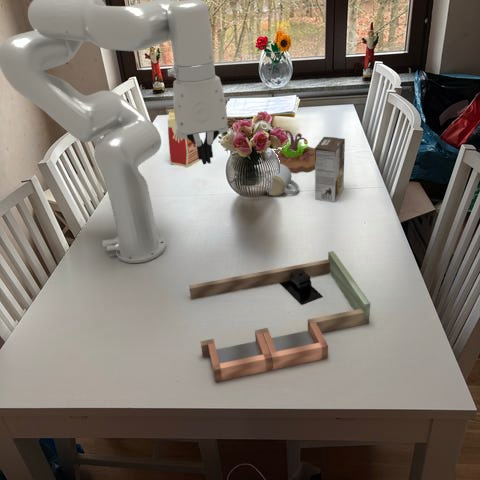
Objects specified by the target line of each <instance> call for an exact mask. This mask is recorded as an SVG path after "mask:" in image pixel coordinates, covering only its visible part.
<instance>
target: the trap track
mask: <svg viewBox="0 0 480 480" xmlns="http://www.w3.org/2000/svg"><path fill="white" fill-rule="evenodd" d="M327 257H328V258H327V259H323V260H317V261H313V262H306V263H302V264H296V265H292V266H291V265H290V266H286V267H280V268H274V269H269V270H266V271H265V270H264V271H260V272H253V273H247V274H244V275H238V276H233V277H226V278H222V279H216V280H210V281H206V282H205V281H204V282H200V283H199V282H198V283H195V284H194V283H193V284H191V285H188V288H189V289H188V290H189V294H190V300H192V301H193V300H196V299H200V298H201V299H202V298H206V297H211V296H216V295H223V294H227V293H231V292H232V293H233V292H238V291H243V290H247V289H248V290H249V289H254V288H259V287H263V286H269V285H275V284H280V282H285V281H290V273H291V272H294V271H297V270H300V269H302V270H303V271H305V274H308V275H309V276H310V277H317V276H322V275H326V274H330V275H331V277H332V278H333V280H334V282H335V283H336V285H337V286H338V287H339V290H340V291H341V292H342V295H344V297H345V298H346V300H347V302H348V303H349V304H350V306H351V308H352V310H349V311H343V312H338V313H333V314H329V315H324V316H319V317H315V318H314V317H312V318H310V319H309V318H308V319H307V330H304V331H299V332H295V333H288V334H285V335H280V336H275V337H272V335H271V333H270V331H269V328H268V327H264V328H260V329H254V336H255V341H251V342H247V343H246V342H245V343H241V344H236V345H231V346H227V347H226V346H225V347H222V348H221V347H220V348H216V344H215V339H214V338H210V339H205V340H201V341H199V342H200V347H201V349H200V350H201V355H202V358H208V357H209V358H210V363H211V366H212V367H211V368H212V371H213V376H214V377H213V378H214V381H215V383H218V382H221V381H227V380H231V379H237V378H241V377H246V376H250V375H255V374H259V373H263V372H269V371H273V370H278V369H282V368H283V369H284V368H287V367H292V366H296V365H301V364H305V363H311V362H315V361H319V360H324V359H328V358H329V345H328V343H327V341H326V339H325V337H324V336H323V333H328V332H333V331H336V330H343V329H347V328H351V327H357V326H361V325H365V324H366V325H367V324H369V323H370V315H371V314H370V313H371V312H370V311H371V302H370V300H369V299H368V297H367V296H366V295H365V294H364V292H363V291H362V289H361V288H360V286H359V285H358V284H357V282H356V281H355V279H354V278H353V276H352V275H351V274H350V272H349V270H348V269H347V268H346V267H345V264H343V263H342V261H341V259H340V258H339V256H338V255H337V253H336V252H335V251H334V250H332V251H328V253H327ZM303 275H304V274H303Z"/></svg>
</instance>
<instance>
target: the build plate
mask: <svg viewBox="0 0 480 480" xmlns="http://www.w3.org/2000/svg"><path fill="white" fill-rule="evenodd" d="M303 274H304V275H303ZM279 285H281V286H282V287H283V288H284V289H285V291H286V292H287V293H288V294H289V295H290V296H292V298H294V300H296V302H298V304H300V305H301V306H303V305H307V304H309V303H311V302H315V301H317V300H319V299H322V298H323V297H324V296H323V295H322V294H321V293H320V292H319V291H318V290H317V289H316V288H315V287H314V286H313V285H312V281H311V277H310V276H309V275H308V274H305V271H303V270H302V269H300V270H297V271H294V272H291V273H290V281H285V282H280V283H279Z"/></svg>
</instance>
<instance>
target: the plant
mask: <svg viewBox="0 0 480 480" xmlns="http://www.w3.org/2000/svg"><path fill="white" fill-rule="evenodd" d="M284 131H285V132H286V135H288V133H289V136H290V141H287V142H288V144H287V143H286V146H285V147H283V148H282V149H278V150H274V151H275V153H276V154H277V155H278V158H279V160H280V164H283V165H285V166H286V167H287V168H288V169H289V170H290V172H291V174H299V173H311V172H313V171H315V147H310V146H309V145H308V143H309V142H308V140H307V138H305V137H303V135H302V133H301V132H298V133H297V134H296V135H295V138H294V135H293V133H292V132H291V131H290V130H284ZM300 140H303V143H302V142H301V141H300ZM302 144H304V145H302ZM279 151H280V154H278V152H279Z"/></svg>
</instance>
